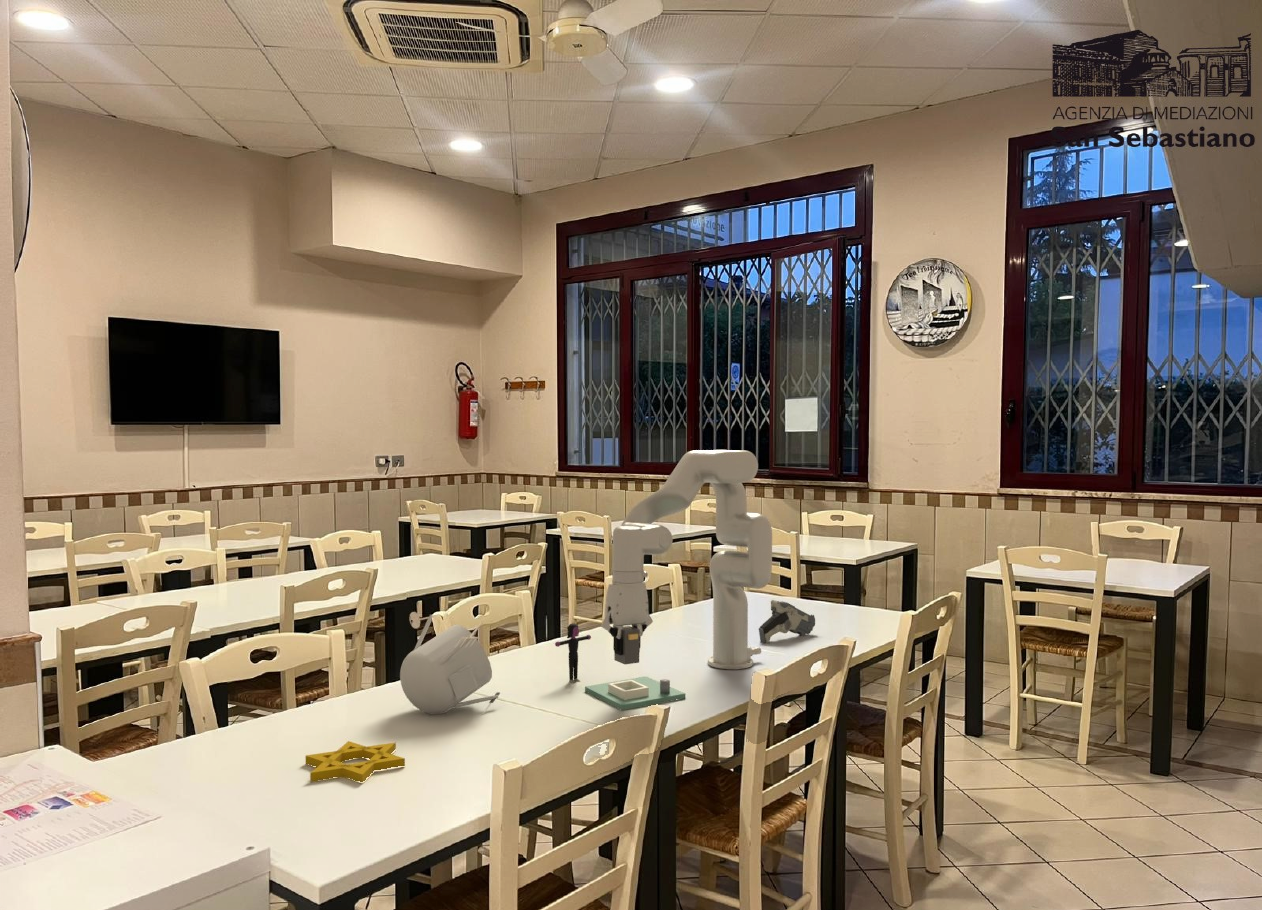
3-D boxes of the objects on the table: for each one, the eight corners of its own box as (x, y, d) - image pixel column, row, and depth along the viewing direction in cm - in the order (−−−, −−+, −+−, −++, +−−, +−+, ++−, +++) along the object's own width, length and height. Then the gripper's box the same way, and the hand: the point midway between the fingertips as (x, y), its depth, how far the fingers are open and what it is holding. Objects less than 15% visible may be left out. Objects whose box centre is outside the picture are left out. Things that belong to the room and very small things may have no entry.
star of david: (419, 753, 183) (419, 742, 183) (388, 786, 166) (388, 774, 166) (324, 751, 185) (324, 740, 185) (284, 784, 168) (284, 772, 168)
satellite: (366, 639, 209) (421, 667, 191) (436, 596, 221) (495, 619, 203) (397, 718, 217) (454, 753, 199) (464, 673, 229) (523, 702, 211)
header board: (646, 680, 235) (646, 664, 235) (685, 698, 220) (685, 681, 220) (585, 691, 226) (584, 674, 226) (621, 710, 210) (621, 692, 210)
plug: (628, 658, 222) (628, 625, 222) (640, 663, 217) (640, 629, 217) (614, 660, 220) (614, 627, 220) (626, 665, 215) (626, 631, 215)
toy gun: (804, 662, 285) (819, 617, 289) (760, 641, 275) (777, 594, 278) (796, 659, 288) (811, 615, 292) (752, 638, 278) (768, 593, 281)
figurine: (560, 686, 230) (560, 628, 229) (551, 683, 232) (550, 625, 232) (595, 677, 238) (595, 620, 238) (585, 674, 241) (585, 618, 241)
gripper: (648, 573, 226) (647, 646, 226) (589, 577, 218) (589, 653, 218) (665, 577, 220) (664, 652, 220) (605, 581, 211) (604, 660, 211)
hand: (626, 652), depth 219 cm, fingers closed on plug, 4 cm apart
